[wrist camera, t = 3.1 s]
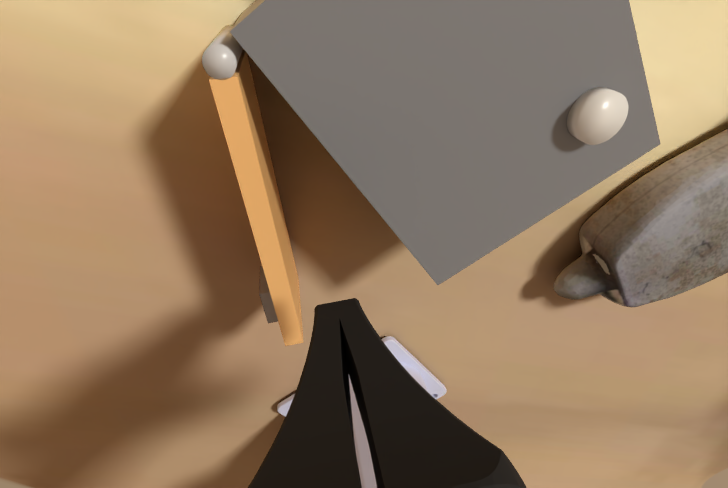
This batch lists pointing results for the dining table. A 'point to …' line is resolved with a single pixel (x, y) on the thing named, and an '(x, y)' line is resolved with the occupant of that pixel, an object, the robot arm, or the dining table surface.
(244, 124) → the side door
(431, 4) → the grey box with knob
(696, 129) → the dining table surface
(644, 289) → the handheld device
